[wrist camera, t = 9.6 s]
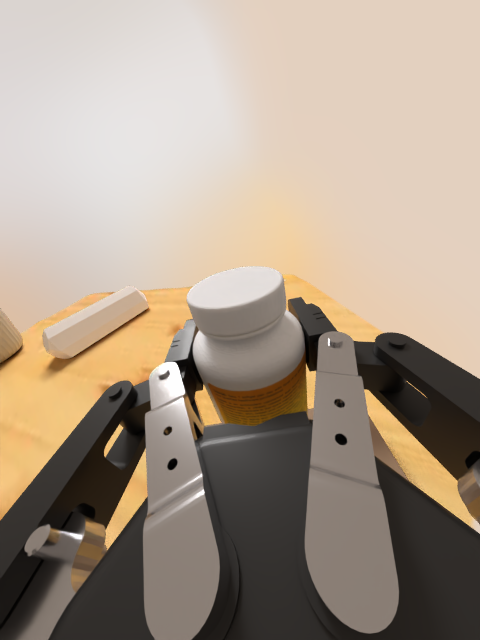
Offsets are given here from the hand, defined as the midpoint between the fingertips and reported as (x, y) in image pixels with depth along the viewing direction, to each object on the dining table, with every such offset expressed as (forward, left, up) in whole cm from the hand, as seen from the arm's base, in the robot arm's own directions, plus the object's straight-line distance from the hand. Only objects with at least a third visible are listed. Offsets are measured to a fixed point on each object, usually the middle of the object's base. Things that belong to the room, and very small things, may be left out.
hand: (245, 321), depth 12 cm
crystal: (-15, +45, -16) cm, 50 cm away
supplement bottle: (-1, -2, -6) cm, 7 cm away
